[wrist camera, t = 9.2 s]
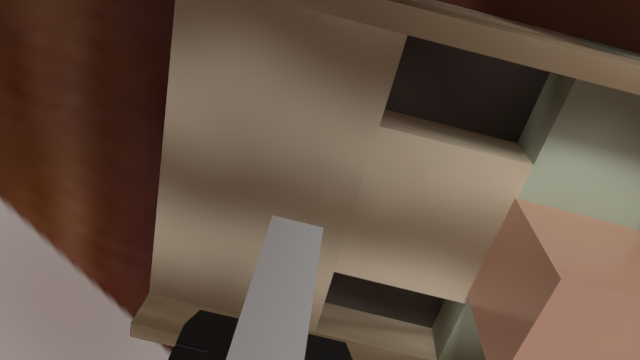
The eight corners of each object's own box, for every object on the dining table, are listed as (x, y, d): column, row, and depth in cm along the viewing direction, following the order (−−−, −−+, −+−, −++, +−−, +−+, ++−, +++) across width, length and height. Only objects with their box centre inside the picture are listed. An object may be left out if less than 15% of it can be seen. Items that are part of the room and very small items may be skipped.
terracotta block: (515, 197, 19) (561, 279, 14) (636, 229, 19) (719, 318, 15) (467, 294, 21) (494, 390, 17) (576, 321, 21) (631, 423, 17)
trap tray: (203, -61, 18) (142, -60, 13) (714, 73, 18) (839, 122, 14) (167, 272, 25) (119, 353, 20) (534, 361, 26) (573, 460, 21)
